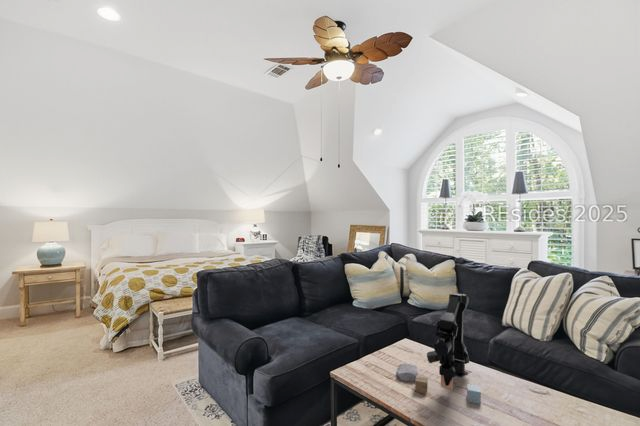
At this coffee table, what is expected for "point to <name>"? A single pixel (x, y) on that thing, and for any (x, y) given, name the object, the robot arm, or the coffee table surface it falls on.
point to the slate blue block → (473, 394)
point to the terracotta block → (444, 383)
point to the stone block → (407, 372)
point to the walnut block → (421, 384)
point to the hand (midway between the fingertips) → (446, 382)
